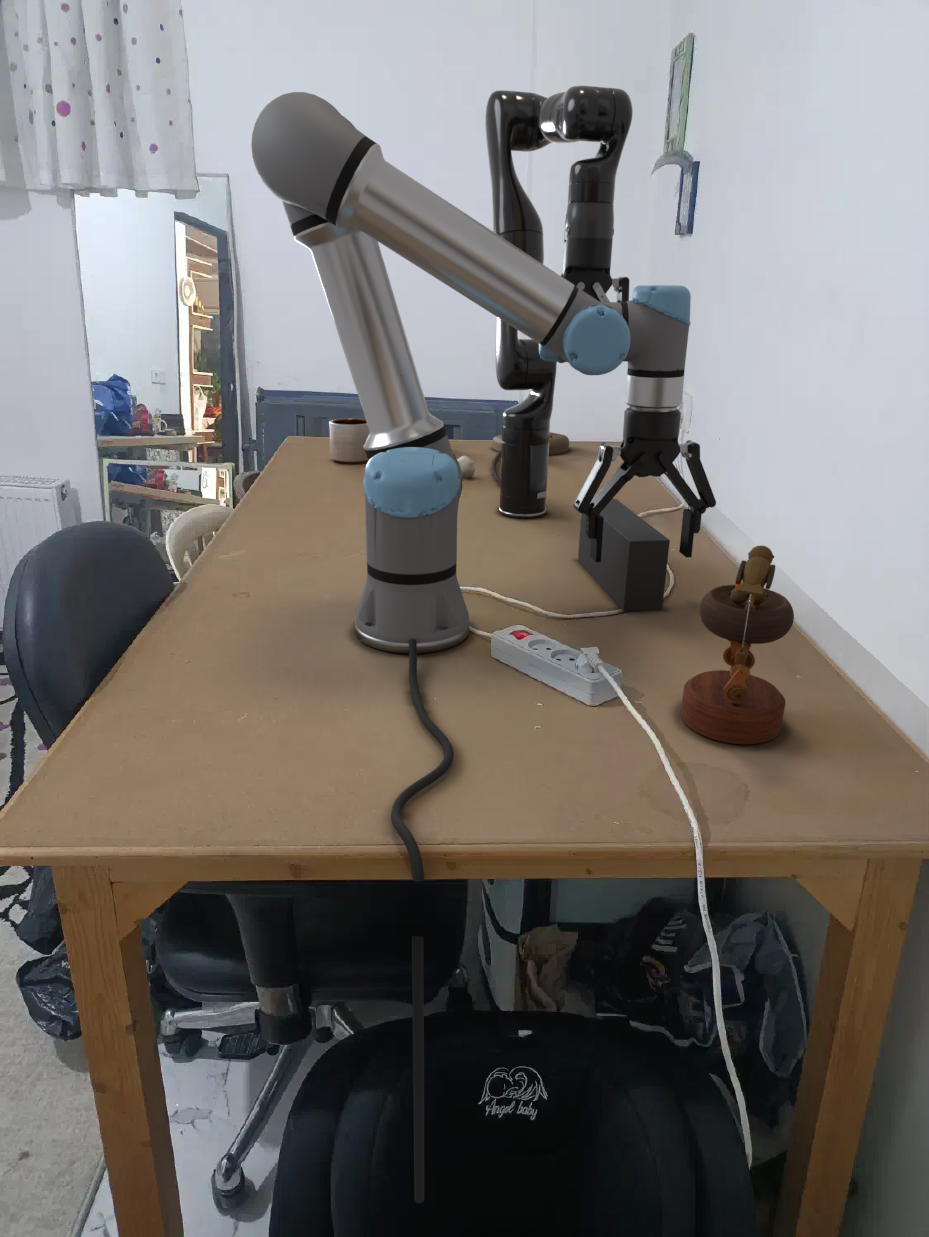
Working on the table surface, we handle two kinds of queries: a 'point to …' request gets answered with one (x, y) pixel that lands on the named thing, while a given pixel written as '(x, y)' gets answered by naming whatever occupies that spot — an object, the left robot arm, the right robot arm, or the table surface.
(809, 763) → the table surface
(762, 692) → the music box
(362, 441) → the planter
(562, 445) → the brown flat rounded piece
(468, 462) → the dog toy
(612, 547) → the box
